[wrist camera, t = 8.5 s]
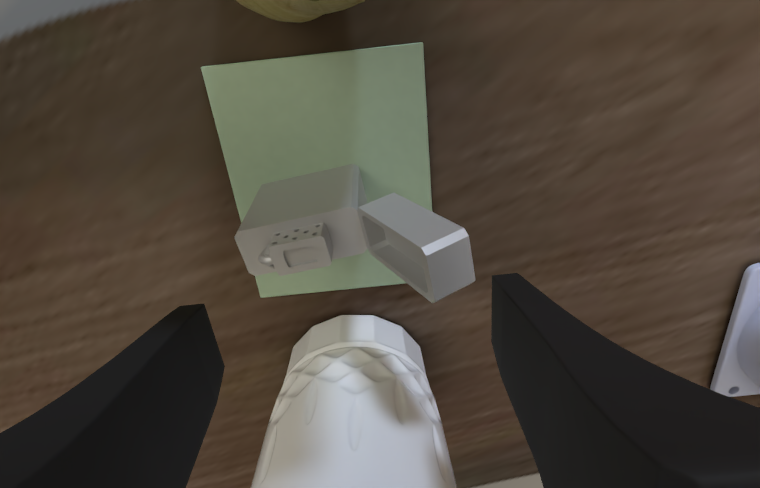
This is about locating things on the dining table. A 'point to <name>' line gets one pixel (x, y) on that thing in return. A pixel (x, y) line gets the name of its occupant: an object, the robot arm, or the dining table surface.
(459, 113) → the dining table surface
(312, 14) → the fennel bulb
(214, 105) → the sticky note
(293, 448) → the white cup
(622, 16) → the dining table surface
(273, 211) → the lighter
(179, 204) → the dining table surface
